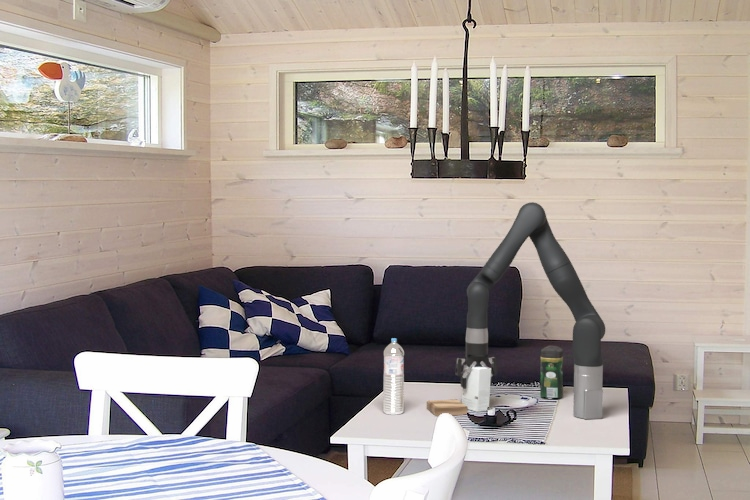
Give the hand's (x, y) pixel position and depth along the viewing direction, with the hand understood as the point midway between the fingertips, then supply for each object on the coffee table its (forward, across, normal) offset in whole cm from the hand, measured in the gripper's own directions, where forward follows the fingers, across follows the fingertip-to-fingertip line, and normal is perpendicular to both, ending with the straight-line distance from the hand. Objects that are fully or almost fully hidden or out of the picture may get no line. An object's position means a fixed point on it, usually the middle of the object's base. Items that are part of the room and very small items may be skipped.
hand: (476, 388), depth 319 cm
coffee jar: (+7, +33, +13) cm, 36 cm away
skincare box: (+7, 0, 0) cm, 7 cm away
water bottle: (+8, -29, 0) cm, 30 cm away
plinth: (+7, -11, -2) cm, 13 cm away
